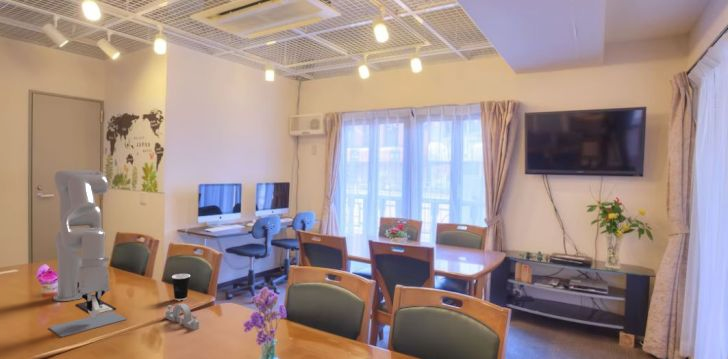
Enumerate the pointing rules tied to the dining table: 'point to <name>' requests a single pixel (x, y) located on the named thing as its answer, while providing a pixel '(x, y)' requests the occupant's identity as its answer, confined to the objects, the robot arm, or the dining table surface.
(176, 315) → the grey arched bracket
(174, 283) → the dixie cup
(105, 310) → the chocolate bar
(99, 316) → the mat
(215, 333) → the dining table surface
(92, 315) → the slab
